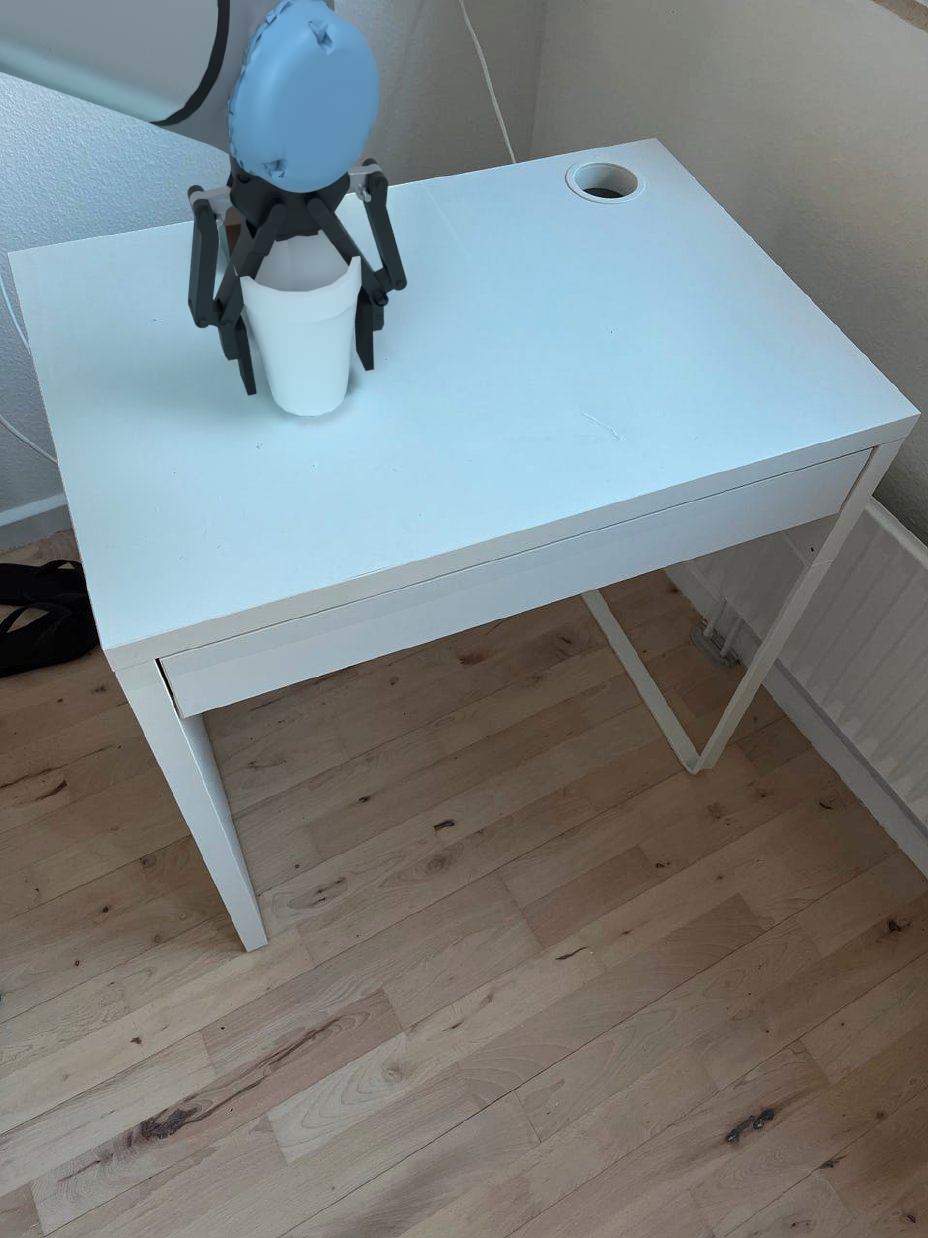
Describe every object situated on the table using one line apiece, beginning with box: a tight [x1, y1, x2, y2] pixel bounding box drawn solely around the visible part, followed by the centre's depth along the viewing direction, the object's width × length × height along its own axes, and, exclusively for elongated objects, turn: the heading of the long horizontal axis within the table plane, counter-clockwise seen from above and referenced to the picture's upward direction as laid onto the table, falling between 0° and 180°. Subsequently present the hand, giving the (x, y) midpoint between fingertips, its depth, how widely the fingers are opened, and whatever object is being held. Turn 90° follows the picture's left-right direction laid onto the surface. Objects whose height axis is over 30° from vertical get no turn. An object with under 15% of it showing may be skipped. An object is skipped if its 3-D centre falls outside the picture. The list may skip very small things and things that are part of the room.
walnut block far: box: [217, 206, 244, 264], centre depth 88 cm, size 5×5×5 cm
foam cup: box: [234, 229, 362, 417], centre depth 75 cm, size 10×9×13 cm
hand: (307, 371), depth 79 cm, fingers closed on foam cup, 9 cm apart
